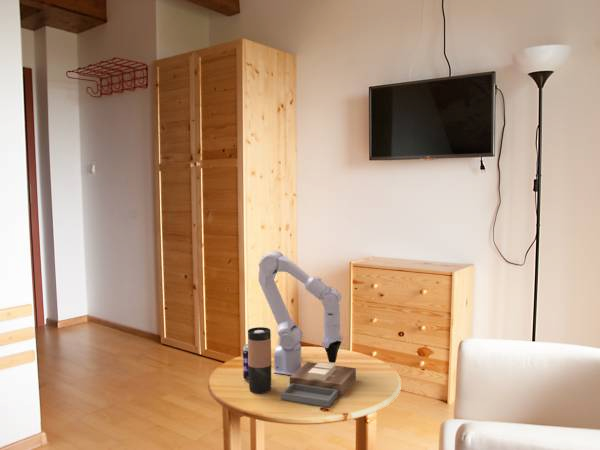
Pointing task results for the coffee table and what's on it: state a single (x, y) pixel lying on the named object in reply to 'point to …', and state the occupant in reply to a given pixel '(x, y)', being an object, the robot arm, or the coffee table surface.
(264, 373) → the travel mug
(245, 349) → the beverage can
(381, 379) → the coffee table surface
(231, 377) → the coffee table surface
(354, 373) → the brown wooden block
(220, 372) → the coffee table surface
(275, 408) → the coffee table surface
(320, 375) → the tile front
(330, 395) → the box
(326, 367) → the tile back
